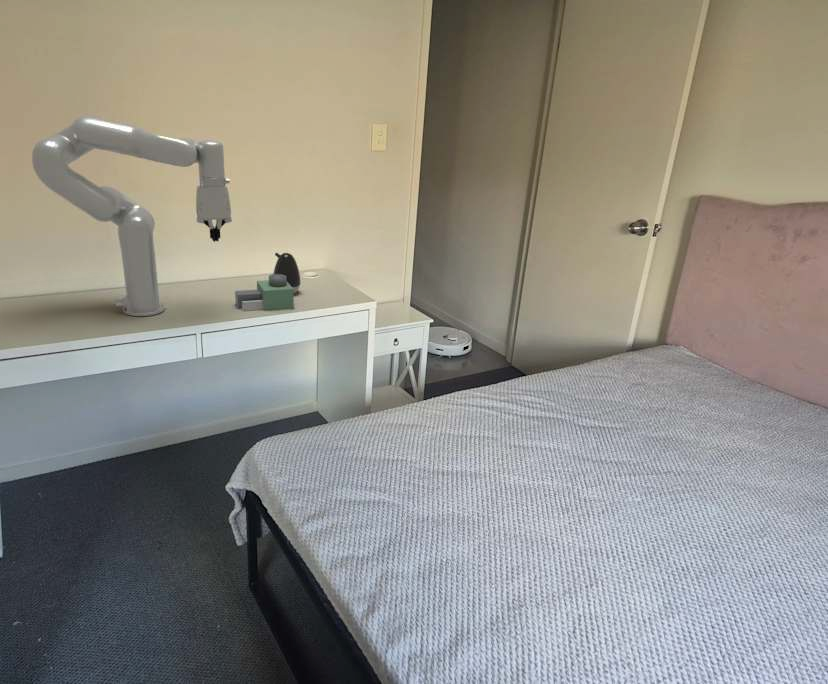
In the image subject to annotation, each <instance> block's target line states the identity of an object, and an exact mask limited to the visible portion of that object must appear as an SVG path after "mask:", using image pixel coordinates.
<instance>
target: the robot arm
mask: <svg viewBox="0 0 828 684" xmlns="http://www.w3.org/2000/svg"><path fill="white" fill-rule="evenodd" d="M32 149H33V150H32V154H31V162H32V167H33V169H34V172H35V174H36V176H37V177H38V179H39V181H41V182H42V183H43V184H44V186H45V187H47V188H48V189H49V190H51V191H53V192H54V193H55V194H56V195H58V196H60V197H61V198H63V199H64V200H66V201H68V202H69V203H70V204H72V205H73V206H75V207H76V208H78V210H81V211H83V212H84V213H85V214H87V215H88V216H89V217H92V218H93V219H94V220H96V221H99V222H104V223H107V222H111V223H112V224H115V225H117V235H118V241H119V245H120V247H119V248H120V252H121V257H122V258H121V261H122V267H123V276H124V284H125V297H122V299H111V300H110V301H111V306H112V307H113V306H115V307H116V308H121V307H122V312H123V314H125V315H128V316H133V317H149V316H150V317H151V316H154V315H159V314H161V313H163V312H164V311H165V309H166V305H165V304H164V303H162V302H160V294H159V283H158V282H159V281H158V273H157V271H158V270H157V263H156V253H155V252H156V251H155V244H154V229H155V224H156V223H155V219H154V217H153V215H152V213H150V211H148V210H147V209H146V208H144V207H143V206H142V205H140V204H138V203H137V202H135V201H134V200H132V199H131V198H130V197H128V196H126V195H125V194H124V193H122V192H121V191H119V190H118V189H116V188H113V187H111V186H105V185H102V186H98V185H97V184H95V183H94V182H92V181H90V180H89V179H87V177H86V176H84V175H82V174H79V173H78V172H77V171H75V170H73V169H72V168H71V167H70V166H69V164H71V163H73V162H74V161H76V160H77V159H79V158H80V157H83V156H84V155H86V154H87V153H89V152H91V151H92V150H94V149H96V150H101V151H106V152H111V153H116V154H120V155H126V156H131V157H134V158H138V159H143V160H144V159H145V160H147V161H151V162H152V161H153V162H156V163H161V164H166V165H170V166H174V167H180V168H185V167H187V168H188V167H190V166H191V167H192V165H194V164H198V179H199V185H197V187H196V197H195V199H196V200H195V201H196V202H195V203H196V205H195V207H196V208H195V209H196V210H195V211H196V222H197V223H198V224H204V225H206V226H207V228H209V238H210V239H211V240H212V241H213V243H214V242H219V239H221V228H222V227H223V226H224V225H225V224H229V223H232V221H233V219H232V208H231V200H230V195H229V190H228V186H226V185H228V184H230V181H231V180H230V178H226V176H225V175H226V174H225V157H224V156H225V155H224V145H223V143H222V142H220V141H216V140H195V139H189V138H182V137H181V138H179V139H177V138H171V137H167V136H163V135H158V134H154V133H152V132H148V131H146V130H144V129H142V128H141V127H138V126H136V125H135V126H134V125H132V124H131V125H130V124H125V123H120V122H116V121H115V122H114V121H111V120H108V119H107V120H106V119H103V118H100V117H98V116H95V115H93V114H90V115H89V114H87V115H82V116H79V117H77V118H76V119H75V120H74V121H73V122H72V124H70V125H69V126H67V127H65V128H64V129H62V130H60V131H58V132H57V133H55V134H53V135H52V136H48V137H45V138H42V139H40V140H39V141H38V142H36V144H35V145H34V147H33V148H32ZM213 220H215V221H216V222H215V226H214V224H213Z"/></svg>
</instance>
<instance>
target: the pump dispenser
mask: <svg viewBox="0 0 828 684" xmlns="http://www.w3.org/2000/svg"><path fill="white" fill-rule="evenodd" d="M274 256H276V257H277V260H276V262H275V266H274V269H273V274H282V275H286V277H287V282H288V283H289V284H290V286H291V287H292V288H293V289H294V294H296V293H297V292H298V290H299V288H300V285H301V274H300V270H299V266H298V264H297V262H296V261H297V260H296V258H295V257H294V256H293V254H291V253H289V252H284V253H282V254H280V253H278V252H275V254H274Z"/></svg>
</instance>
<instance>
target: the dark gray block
mask: <svg viewBox="0 0 828 684" xmlns="http://www.w3.org/2000/svg"><path fill="white" fill-rule="evenodd" d="M234 294H235V296H234V297H235V305H236V307H237V309H238V310H242V301H254V300H262V293H261V292H260V291H259V290H257V289H245V290H244V289H243V290H235V291H234Z"/></svg>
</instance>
